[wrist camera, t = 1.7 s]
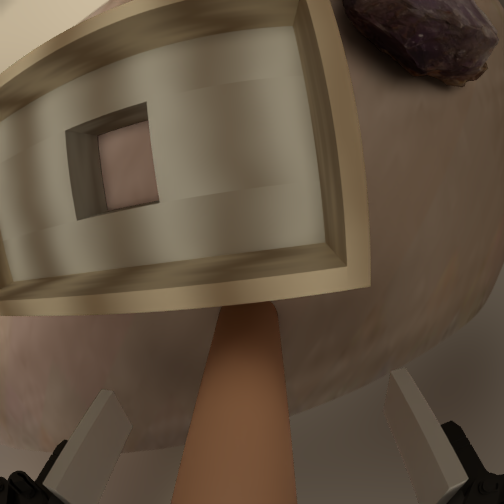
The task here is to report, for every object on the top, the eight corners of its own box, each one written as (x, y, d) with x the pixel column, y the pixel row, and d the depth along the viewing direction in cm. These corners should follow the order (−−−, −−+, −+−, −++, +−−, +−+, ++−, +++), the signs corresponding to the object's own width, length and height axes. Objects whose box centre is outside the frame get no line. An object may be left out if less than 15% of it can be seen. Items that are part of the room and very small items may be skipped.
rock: (378, -19, 14) (291, 15, 15) (402, -82, 5) (291, -67, 7) (474, 80, 14) (403, 132, 16) (535, 39, 6) (473, 85, 7)
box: (38, 277, 20) (-21, 315, 12) (15, 124, 17) (-51, 121, 9) (327, 241, 19) (370, 286, 11) (298, 39, 15) (320, -28, 7)
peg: (224, 345, 21) (190, 535, 7) (214, 296, 20) (149, 495, 6) (280, 340, 21) (299, 535, 6) (274, 289, 20) (297, 500, 5)
